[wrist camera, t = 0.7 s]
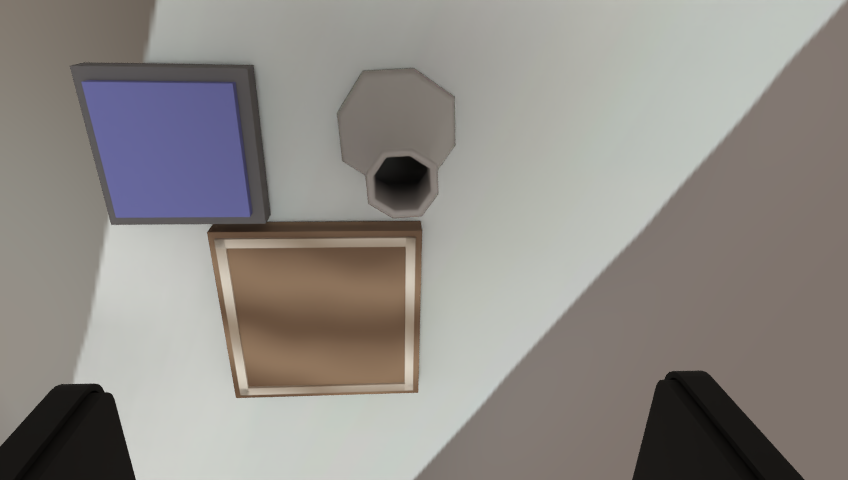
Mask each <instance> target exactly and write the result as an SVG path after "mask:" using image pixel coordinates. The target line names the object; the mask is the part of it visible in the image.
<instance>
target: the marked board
mask: <svg viewBox="0 0 848 480" xmlns="http://www.w3.org/2000/svg"><path fill="white" fill-rule="evenodd" d="M207 234H208V240H209V245H210V251H211V257H212V263H213V268H214V274H215V280H216V286H217V291H218V297H219V303H220V308H221V314H222V320H223V326H224V331H225V337H226V343H227V349H228V354H229V360H230V366H231V371H232V377H233V383H234V389H235V394H236V398H251V397H285V396H319V395H352V394H386V393H418V378H419V335H420V293H421V250H422V228H421V221H358V222H266V224H213V225H212V227H211V228H210V229H209V231H208V232H207Z"/></svg>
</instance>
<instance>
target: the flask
mask: <svg viewBox="0 0 848 480" xmlns="http://www.w3.org/2000/svg"><path fill="white" fill-rule="evenodd" d="M337 118H338V127H339V135H340V144H341V153H342V161H343V162H345V163H346V164H348V165H350V166H351V167H353V168H354V169H356V170H358V171H359V172H361V173H363V174H364V175H366V186H367V196H368V204H370V205H371V206H373V207H375V208H377V209H378V210H380V211H382V212H383V213H385V214H387V215H388V216H390V217H392V218H404V217H419V216H422V215H423V214H424V213H425V211H426V210H427V209H428V207H429V206H430V204H431V203H432V202H433V200H434V199H435V198H436V196H437V195H438V169H439V167H440V166H441V165H442V163H443V162H444V160H445V159H446V158H447V156H448V155H449V153H450V152H451V151H452V149H453V148H454V146H455V97H454V96H453V95H451V94H450V93H448V92H447V91H446V90H444V89H443V88H441V87H440V86H438V85H437V84H436V83H434V82H433V81H431V80H430V79H429V78H427V77H426V76H424V75H423V74H421V73H420V72H419V71H417V70H416V69H414V68H406V69H387V70H369V71H363V72H362V73H361V75H360V76H359V78H358V80H357V81H356V83H355V85H354V86H353V88H352V90H351V91H350V93H349V95H348V96H347V98H346V100H345V101H344V103H343V104H342V106H341V108H340V109H339V111H338V113H337Z"/></svg>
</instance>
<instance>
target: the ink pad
mask: <svg viewBox="0 0 848 480" xmlns="http://www.w3.org/2000/svg"><path fill="white" fill-rule="evenodd" d="M70 69H71V72H72V76H73V80H74V84H75V88H76V92H77V95H78V99H79V103H80V107H81V111H82V115H83V118H84V122H85V126H86V130H87V134H88V137H89V141H90V145H91V149H92V153H93V156H94V161H95V164H96V168H97V172H98V176H99V179H100V183H101V187H102V191H103V195H104V198H105V202H106V206H107V210H108V214H109V218H110V222H111V225H135V224H266V222H267V220H268V218H269V216H270V207H269V199H268V190H267V181H266V172H265V164H264V155H263V146H262V137H261V129H260V120H259V111H258V103H257V94H256V85H255V76H254V68H253V65H209V64H144V63H80V64H76V65H72V66H70Z"/></svg>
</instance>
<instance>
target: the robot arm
mask: <svg viewBox="0 0 848 480" xmlns="http://www.w3.org/2000/svg"><path fill="white" fill-rule="evenodd" d="M0 480H136V479H135V475H134V471H133V467H132V464H131V460H130V456H129V452H128V449H127V445H126V441H125V437H124V434H123V430H122V426H121V422H120V419H119V415H118V411H117V407H116V404H115V400H114V397H113V395H112V394H111V393H108V392H104V390H103V388H102V387H101V386H100V385H99V384H61V385H58V386H56V387H54V389H52V390H51V391H50V392H49V393H48V394H47V395H46V396H45V398H44V399H43V400H42V401H41V402H40V403H39V404H38V405H37V406H36V407H35V409H34V410H33V411H32V412H31V413H30V414H29V415H28V416H27V417H26V419H25V420H24V421H23V422H22V423H21V424H20V425H19V426H18V427H17V429H16V430H15V431H14V432H13V433H12V434H11V435H10V436H9V438H8V439H7V440H6V441H5V442H4V443H3V444H2V445H1V446H0ZM632 480H804V479H803V478H802V476H801V475H800V474H799V473H798V472H797V471H796V470H795V469H794V468H793V466H792V465H791V464H790V463H789V462H788V461H787V460H786V459H785V458H784V457H783V456H782V454H781V453H780V452H779V451H778V450H777V449H776V448H775V447H774V446H773V444H772V443H771V442H770V441H769V440H768V439H767V438H766V437H765V436H764V434H763V433H762V432H761V431H760V430H759V429H758V428H757V427H756V426H755V425H754V423H753V422H752V421H751V420H750V419H749V418H748V417H747V416H746V414H745V413H744V412H743V411H742V410H741V409H740V408H739V407H738V406H737V405H736V404H735V402H734V401H733V400H732V399H731V398H730V397H729V396H728V395H727V393H726V392H725V391H724V390H723V389H722V388H721V387H720V386H719V385H718V383H717V382H716V381H715V380H714V379H713V378H712V377H711V376H710V375H709V374H708V373H707V372H704V371H672V372H669V373H668V374H667V375H666V377H665V379H664V380H660V381H659V382H658V383H657V385H656V389H655V392H654V397H653V401H652V404H651V408H650V412H649V416H648V420H647V424H646V428H645V432H644V436H643V440H642V444H641V448H640V452H639V456H638V460H637V464H636V468H635V471H634V475H633V479H632Z"/></svg>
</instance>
